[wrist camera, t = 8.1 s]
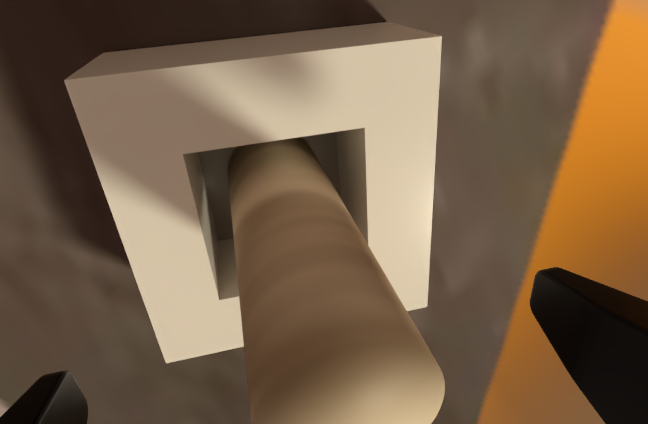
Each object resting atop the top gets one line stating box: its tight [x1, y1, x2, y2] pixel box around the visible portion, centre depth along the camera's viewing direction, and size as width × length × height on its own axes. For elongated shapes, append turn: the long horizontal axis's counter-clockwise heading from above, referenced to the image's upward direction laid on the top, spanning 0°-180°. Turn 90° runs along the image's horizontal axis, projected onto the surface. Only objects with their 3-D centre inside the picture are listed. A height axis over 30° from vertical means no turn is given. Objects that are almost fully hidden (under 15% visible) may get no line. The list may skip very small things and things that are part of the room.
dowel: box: [228, 137, 445, 424], centre depth 11 cm, size 3×3×10 cm
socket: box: [64, 22, 442, 363], centre depth 14 cm, size 9×9×4 cm
